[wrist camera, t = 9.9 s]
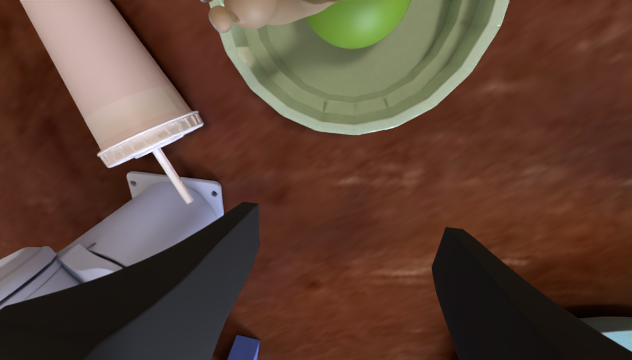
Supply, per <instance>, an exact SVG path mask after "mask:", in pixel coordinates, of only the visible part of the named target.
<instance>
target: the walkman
mask: <svg viewBox="0 0 632 360" xmlns="http://www.w3.org/2000/svg"><path fill="white" fill-rule="evenodd" d="M259 343H260V340H257V339H252V338H248V337H244V336H240V335H237V336H236V339H235V341H234V344H233V346H232V349H231V351H230V354H229V356H228V359H227V360H257V356H258V350H259Z"/></svg>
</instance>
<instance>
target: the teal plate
mask: <svg viewBox="0 0 632 360" xmlns="http://www.w3.org/2000/svg"><path fill="white" fill-rule="evenodd" d="M580 320H581V321H583V322H584V323H586V324H588V325H589V326H591V327H592V328H594V329H595V330H597V331H599V332H600V333H602V334H603V335H605V336H607V337H608V338H610V339H612V340H613V341H615V342H617V343H618V344H620V345H622V346H623V347H625V348H627V349H628V350H630V351H632V317H591V318H580Z"/></svg>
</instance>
